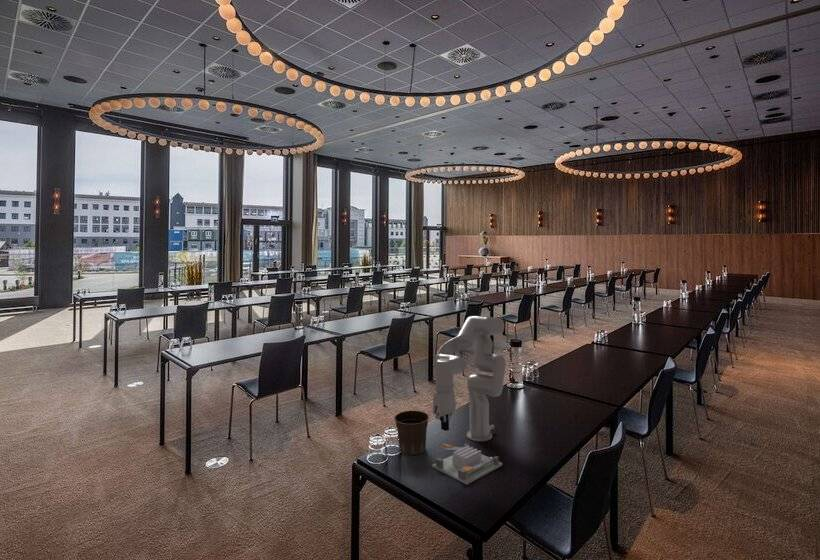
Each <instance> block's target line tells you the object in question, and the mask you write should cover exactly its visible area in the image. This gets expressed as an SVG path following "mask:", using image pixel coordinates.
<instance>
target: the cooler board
mask: <svg viewBox="0 0 820 560" xmlns="http://www.w3.org/2000/svg"><path fill="white" fill-rule="evenodd" d="M463 447H464V448H462V449H459V450H454V451H453V452H452V455H449V456H448V457H446V458H443V459H442V458H440V457H437V458H435V463H433V464H431V468H434V469H435V470H437V471H438V472H441V473H443V474H445V475H446V476H449V477H451V478H452V479H455V480H456V481H458V482H460V483H462V484H465V485H469V484H471V483H473V482H475V481H476V480H478V479H480V478H482V477H484V476H486V475H487V474H489V473H491V472H493V471H495V470H496V469H498V468H500V467H502V466H503V462H501V461H499V456H497V455H496V456H492V457H493V459H494V461H493V462H491V463H489V464H487V465H485V466H483V467H481V468H479V469H477V470H475V471H473V472H471V473H469V474H467V475H466V471H465V470H463V469H461V468H463V467H465V466H467V465H469V466H472V465H474V464H477V463H479V462H481V461H483V460H485V459H487V458H489V457H490V456H487V455H484V454H482V450H481V449H480V450H478V448H474V447H473V446H471V447H470V445H469V443H464V444H463Z"/></svg>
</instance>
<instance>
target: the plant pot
mask: <svg viewBox="0 0 820 560" xmlns="http://www.w3.org/2000/svg"><path fill="white" fill-rule="evenodd" d="M429 419H430V416H429V414H428V413H426V412H424V411H421V410H405V411H401V412H399V413H397V414H395V415H394V422H395V426H396V430H398V431H397V436H398V435H399V439H398V444H399V443H400V447H399V449H400V448H401V452H400V453H401V454H403V455H405V456H413V455H414V456H418V455H422V454H423V453H425V452H426V450H427V449H426V448H427V447H426V445H427V431H428V430H427V429H428V424H429Z"/></svg>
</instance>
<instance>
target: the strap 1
mask: <svg viewBox="0 0 820 560" xmlns="http://www.w3.org/2000/svg"><path fill="white" fill-rule="evenodd" d="M440 446H441V447H440V449H443V450H446V451H447V450H449V451H457V450H459V449H462V448H464V446H452V445H451V444H449V443H440Z"/></svg>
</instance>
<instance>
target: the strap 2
mask: <svg viewBox="0 0 820 560" xmlns="http://www.w3.org/2000/svg"><path fill="white" fill-rule="evenodd" d="M488 457H489V458H487V459H485V460H483V461H481V462H479V463H477V464H474V465H472V466H469V465H467V466H465V467H463V468H461V469H463V470H465V471H466V475H467V474H469V473H471V472H473V471H475V470H477V469H479V468H481V467H483V466H485V465H487V464H489V463H491V462H493V461H494V459H493V457H494V456H488Z"/></svg>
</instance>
